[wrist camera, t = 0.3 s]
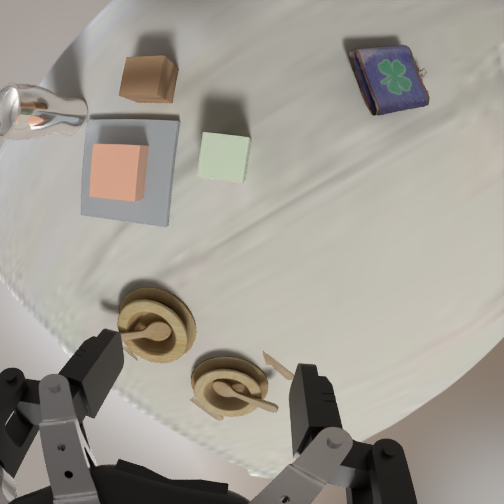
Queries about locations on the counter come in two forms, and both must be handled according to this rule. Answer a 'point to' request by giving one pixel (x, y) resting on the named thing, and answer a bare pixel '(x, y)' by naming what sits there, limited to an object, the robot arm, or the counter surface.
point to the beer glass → (38, 112)
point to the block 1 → (149, 79)
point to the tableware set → (180, 341)
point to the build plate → (154, 175)
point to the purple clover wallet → (389, 79)
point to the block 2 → (224, 157)
